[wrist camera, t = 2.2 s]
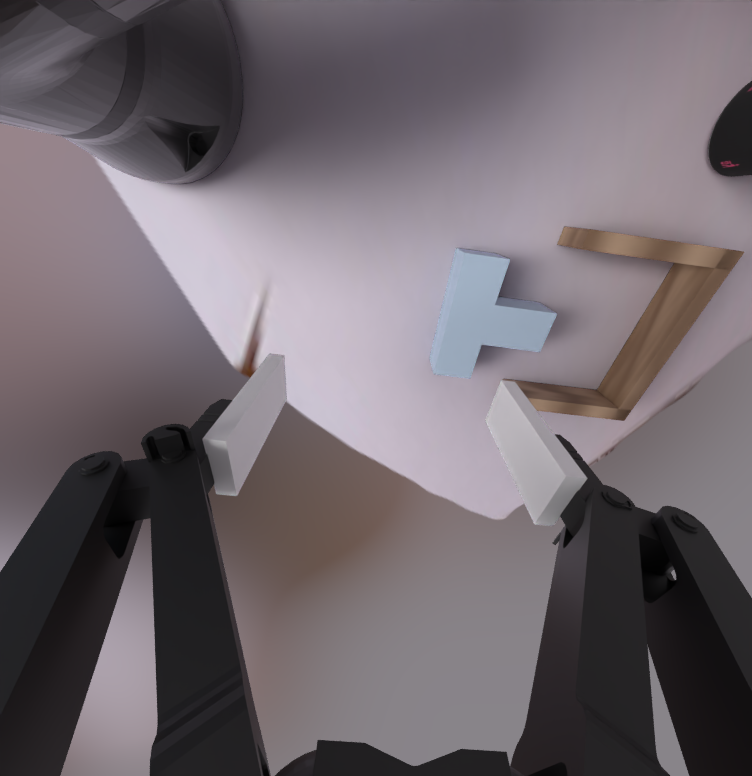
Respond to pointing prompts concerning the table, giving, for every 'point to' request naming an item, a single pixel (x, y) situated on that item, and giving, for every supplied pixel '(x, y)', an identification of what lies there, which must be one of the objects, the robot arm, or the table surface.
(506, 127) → the table surface
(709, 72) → the table surface
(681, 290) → the walnut corral
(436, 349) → the tee block
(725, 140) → the beverage can
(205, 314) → the table surface
